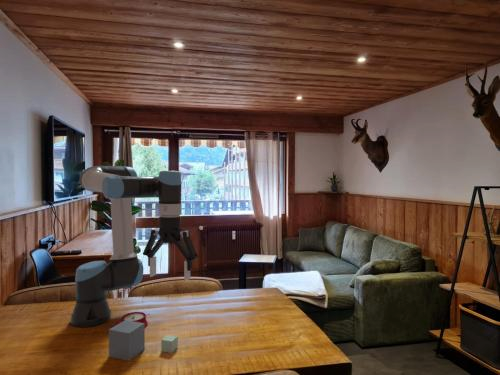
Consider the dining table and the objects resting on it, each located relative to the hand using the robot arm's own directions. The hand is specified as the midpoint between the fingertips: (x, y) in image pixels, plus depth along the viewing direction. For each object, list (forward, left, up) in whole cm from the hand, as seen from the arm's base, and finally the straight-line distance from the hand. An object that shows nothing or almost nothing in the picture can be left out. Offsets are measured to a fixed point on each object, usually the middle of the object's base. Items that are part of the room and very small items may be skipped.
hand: (169, 277), depth 115 cm
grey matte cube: (-12, -7, -25) cm, 28 cm away
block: (0, 0, -25) cm, 25 cm away
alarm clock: (-23, +10, -25) cm, 36 cm away
